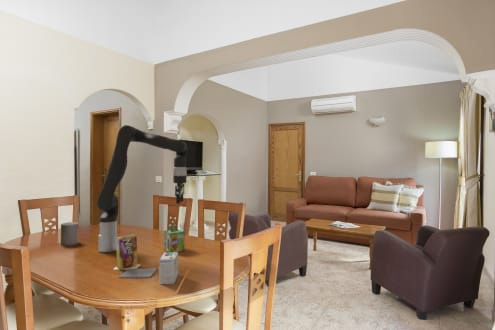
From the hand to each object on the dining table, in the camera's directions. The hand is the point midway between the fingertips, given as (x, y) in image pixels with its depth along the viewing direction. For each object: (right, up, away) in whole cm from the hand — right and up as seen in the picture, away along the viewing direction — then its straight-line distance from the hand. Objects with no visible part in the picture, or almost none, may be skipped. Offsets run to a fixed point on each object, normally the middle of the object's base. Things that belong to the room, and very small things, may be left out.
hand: (179, 202), depth 176 cm
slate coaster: (-11, -29, -35) cm, 47 cm away
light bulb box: (+5, -29, -42) cm, 51 cm away
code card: (-20, -29, -26) cm, 44 cm away
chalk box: (-4, -29, +2) cm, 29 cm away
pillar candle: (-74, -29, +16) cm, 81 cm away
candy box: (-20, -29, -26) cm, 44 cm away
